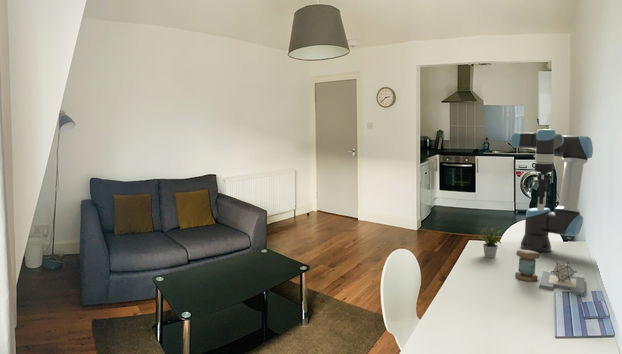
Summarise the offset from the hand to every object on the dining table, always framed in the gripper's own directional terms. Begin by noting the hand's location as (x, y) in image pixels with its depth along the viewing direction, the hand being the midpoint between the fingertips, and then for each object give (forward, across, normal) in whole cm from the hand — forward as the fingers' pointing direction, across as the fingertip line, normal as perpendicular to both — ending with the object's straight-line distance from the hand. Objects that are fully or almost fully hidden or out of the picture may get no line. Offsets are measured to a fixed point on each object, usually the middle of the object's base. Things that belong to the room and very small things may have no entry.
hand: (541, 208), depth 193 cm
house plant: (+31, -10, -24) cm, 40 cm away
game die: (+29, +15, +10) cm, 34 cm away
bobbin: (+30, +15, -4) cm, 34 cm away
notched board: (+30, +15, +10) cm, 35 cm away
